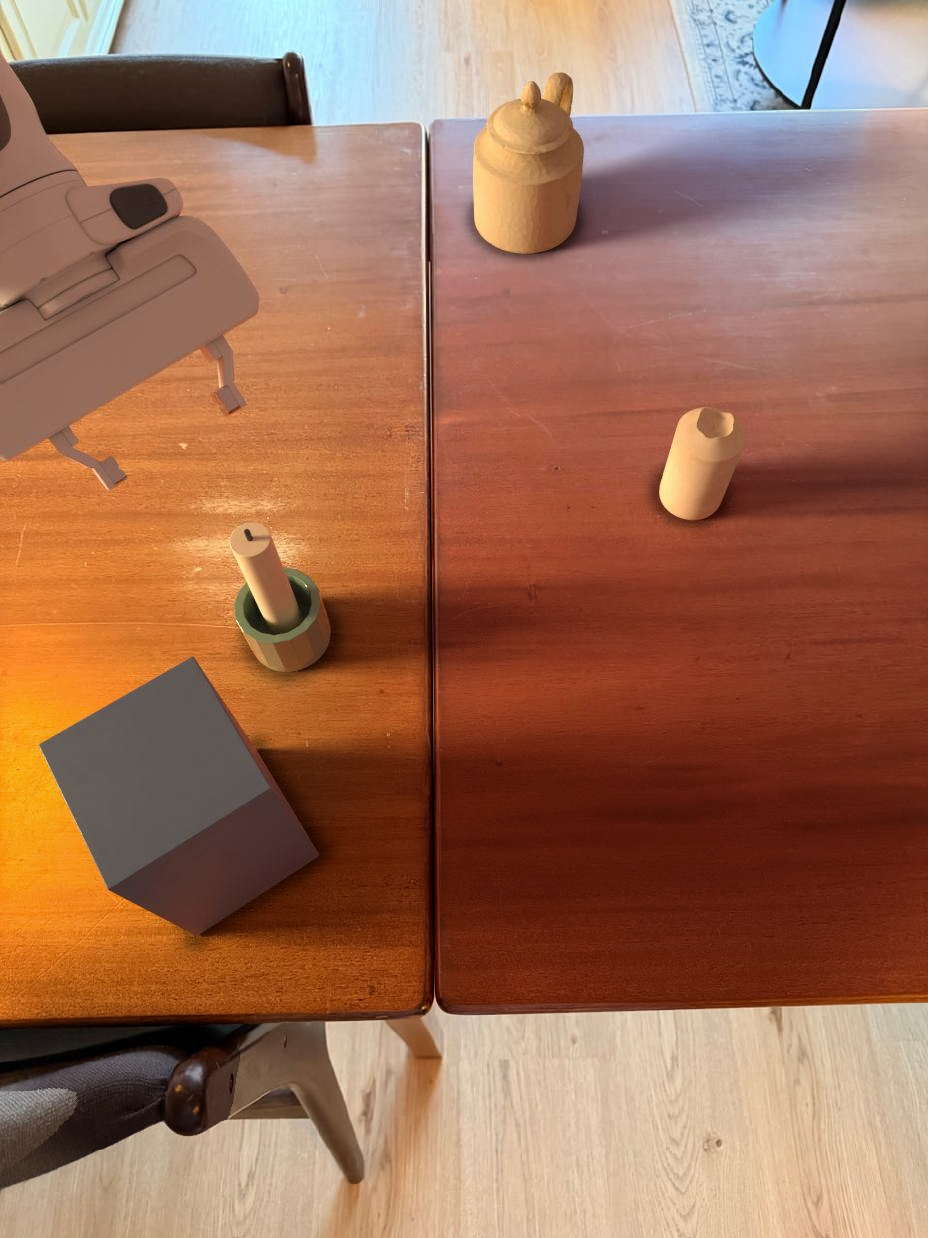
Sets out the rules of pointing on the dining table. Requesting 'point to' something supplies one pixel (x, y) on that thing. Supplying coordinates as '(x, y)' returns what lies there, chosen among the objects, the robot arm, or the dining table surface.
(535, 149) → the sugar bowl
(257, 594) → the taper
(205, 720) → the riser
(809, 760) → the dining table surface
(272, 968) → the dining table surface
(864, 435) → the dining table surface
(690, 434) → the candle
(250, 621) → the holder
